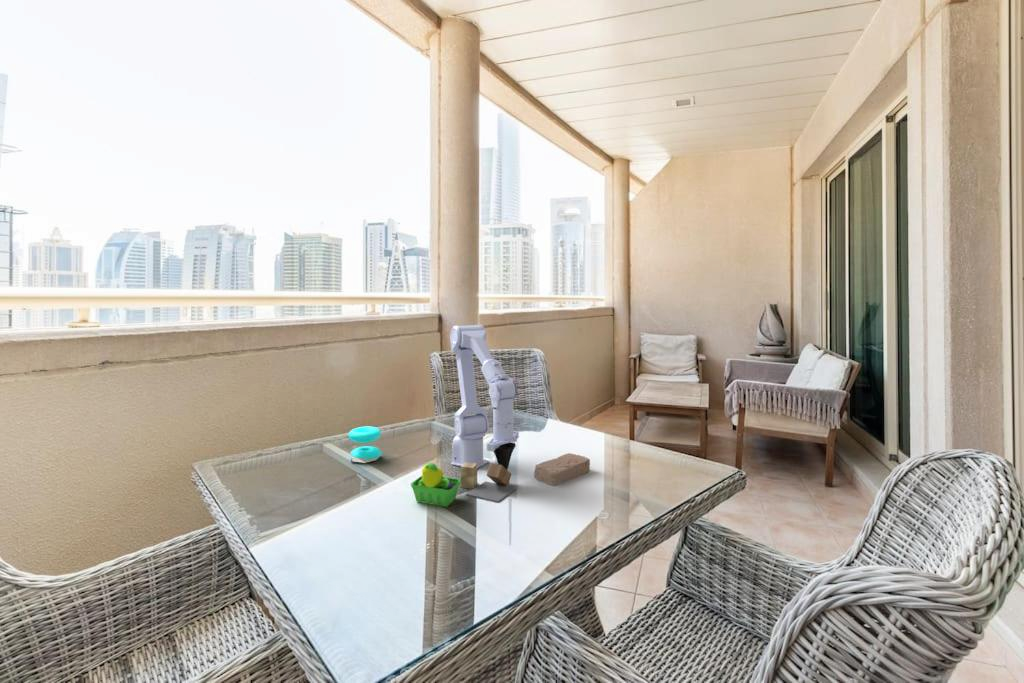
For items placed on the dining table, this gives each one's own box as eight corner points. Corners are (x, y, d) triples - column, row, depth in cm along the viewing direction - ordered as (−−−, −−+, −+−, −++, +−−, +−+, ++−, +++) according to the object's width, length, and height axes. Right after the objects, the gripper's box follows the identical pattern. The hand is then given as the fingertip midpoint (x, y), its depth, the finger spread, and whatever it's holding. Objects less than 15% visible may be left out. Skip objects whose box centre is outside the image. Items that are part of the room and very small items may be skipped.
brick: (553, 487, 140) (553, 471, 139) (532, 479, 146) (532, 463, 145) (590, 473, 151) (591, 458, 150) (570, 466, 157) (570, 451, 156)
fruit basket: (462, 497, 132) (461, 456, 131) (447, 511, 124) (446, 467, 123) (424, 492, 136) (423, 452, 135) (407, 505, 128) (406, 462, 127)
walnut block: (496, 483, 142) (486, 475, 136) (500, 471, 143) (490, 462, 138) (507, 486, 140) (497, 477, 135) (511, 474, 141) (501, 464, 136)
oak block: (461, 487, 139) (460, 466, 138) (465, 482, 143) (465, 462, 142) (473, 488, 138) (473, 467, 138) (477, 483, 142) (477, 463, 141)
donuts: (372, 434, 156) (342, 433, 157) (373, 465, 157) (344, 464, 158) (385, 425, 166) (356, 424, 167) (386, 455, 167) (357, 453, 168)
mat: (466, 495, 134) (466, 493, 134) (485, 482, 142) (485, 481, 142) (498, 502, 129) (498, 501, 129) (516, 489, 138) (516, 487, 138)
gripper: (502, 430, 131) (503, 479, 133) (527, 417, 144) (527, 463, 145) (480, 426, 135) (480, 475, 136) (506, 415, 147) (506, 459, 149)
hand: (503, 468), depth 141 cm, fingers closed
